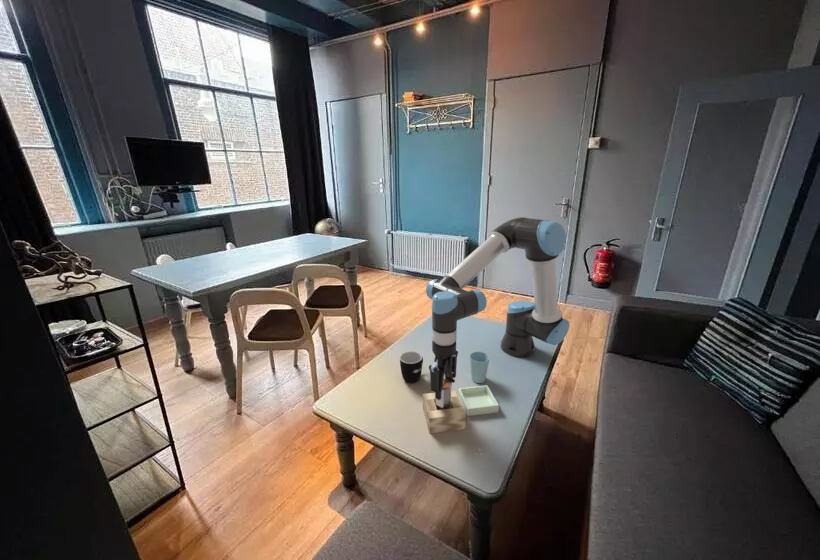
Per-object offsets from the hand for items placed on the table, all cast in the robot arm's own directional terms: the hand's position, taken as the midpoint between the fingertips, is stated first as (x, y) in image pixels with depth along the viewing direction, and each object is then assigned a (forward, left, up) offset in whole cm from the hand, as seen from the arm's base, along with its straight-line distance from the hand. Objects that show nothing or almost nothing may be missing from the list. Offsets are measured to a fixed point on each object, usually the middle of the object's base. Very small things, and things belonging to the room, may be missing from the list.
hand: (443, 401), depth 110 cm
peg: (0, 0, -7) cm, 7 cm away
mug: (+6, -25, -7) cm, 26 cm away
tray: (-14, -5, -7) cm, 16 cm away
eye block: (0, 0, -7) cm, 7 cm away
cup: (-19, -19, -7) cm, 28 cm away
